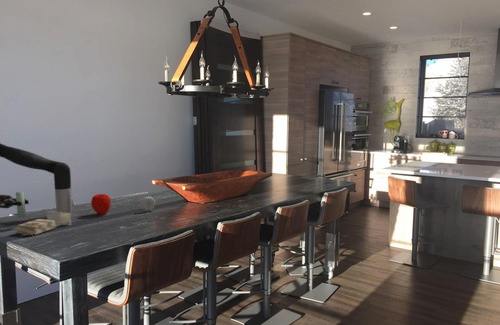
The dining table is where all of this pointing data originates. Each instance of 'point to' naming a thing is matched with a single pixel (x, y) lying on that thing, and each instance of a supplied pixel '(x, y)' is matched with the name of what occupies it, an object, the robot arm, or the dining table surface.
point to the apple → (101, 203)
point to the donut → (145, 200)
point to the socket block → (36, 226)
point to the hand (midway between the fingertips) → (24, 202)
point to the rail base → (58, 218)
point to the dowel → (21, 209)
